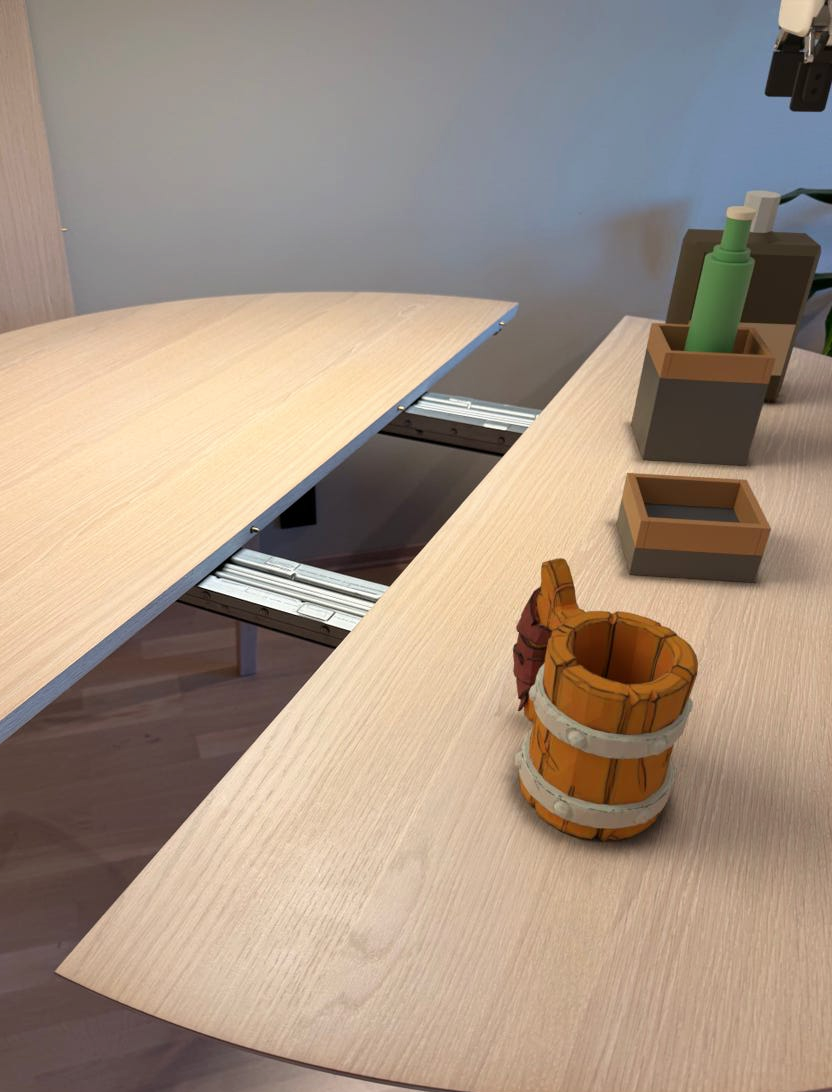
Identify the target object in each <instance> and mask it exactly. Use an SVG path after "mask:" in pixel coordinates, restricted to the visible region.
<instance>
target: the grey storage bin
mask: <svg viewBox="0 0 832 1092" xmlns="http://www.w3.org/2000/svg"><path fill="white" fill-rule="evenodd" d="M689 327H690V325H686V324H666V323H665V322H664V323H663V322H651V323H650V329H649V334H648V339H647V343H646V348H645V353H644V358H643V363H642V368H641V374H640V378H639V383H638V388H637V393H636V399H635V402H634V403H635V404H634V407H633V412H632V413H633V414H632V418H631V421H630V424H631V425H630V426H631V429H632V432H633V435H634V438H635V441H636V444H637V447H638V450H639V454H640V457H641V460H643V461H657V462H658V461H659V462H675V463H678V462H679V463H695V464H713V465H728V466H730V465H731V466H746V465H747V462H748V458H749V455H750V451H751V448H752V445H753V441H754V437H755V434H756V431H757V427H758V424H759V420H760V418H761V417H760V416H761V412H762V410H763V406H764V402H765V401H764V399H765V395H766V392H767V388H768V385H769V381H770V377H771V374H772V370H773V367H774V363H775V360H776V358H775V356H774V355H773V353H772V352H771V351H770V349H769V348H768V346H767V345H766V344H765V342H764V341H763V339H762V338H761V337H760V335H759V334H758V332H757V331H756V330H755V328H747V327H738V331H737V335H736V339H735V343H734V346H733V350H732V354H731V353H712V352H692V351H684V349H685V345H686V340H687V336H688V331H689Z"/></svg>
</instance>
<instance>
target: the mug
mask: <svg viewBox="0 0 832 1092" xmlns="http://www.w3.org/2000/svg"><path fill="white" fill-rule="evenodd" d="M515 629H516V632H517V633H518V636H517V638H516V643H515V644H513V648H512V658H513V668H512V672H513V676H514V677H515V684H516V692H517V698H518V700H520V702H519V705H518V708H517V712H521V711H522V710H523V714H524V716H525V717H526V719H527V720H528V721H529V722H531V723H532V726H531V727H530V728H529V729H528V731H527V732H526V735H525V736H524V739H523V741H522V743H521V747H520V751H518V752H516V753H515V757H514V766H516V768H518V773H519V774H518V783H519V787H520V793H521V794H522V796H523V797H524V799H525V801H526V802H527V804H529V805H530V806H531V807H534V809H535V812H536V815H537V816H538V817H539V818H540V819H542V820H543V822H545V823H546V824H548V825H549V826H551V827H553V828H554V829H556V830H557V831H559V832H562V833H564V834H567V835H570V836H573V837H576V838H579V839H586V840H593V839H594V838H595V837H596V836H597V837H598V840H599V841H604V842H606V841H608V840H609V839H610V840H612V841H621V840H625V839H630V838H632V837H634V836H636V835H638V834H639V833H642V832H644V831H646V830H647V829H648V828H649V827H650V826H652V824H654V823H655V822H656V821H657V820H658V817H659V816H661V812H662V810H663V809H664V807H665V806H666V804H667V803H668V800H669V798H670V796H671V791H672V787H673V782H674V780H675V779H676V777H677V772H678V770H677V766H676V765H675V764H674V762H673V758H672V757H671V756H672V753H673V750H674V746H675V743H676V742H677V741H678V740H679V739H680V738H681V737H682V736H683V735H684V731H685V728H686V725H687V722H688V719H689V716H690V713H691V712H692V711H693V706H694V704H693V703H694V701H693V700H692V699H691V698H690V697H691V693H692V691H693V688H694V685H695V683H696V679H697V677H698V673H699V662H698V656H697V654H696V652H695V650H694V648H693V647H692V645H691V644H690V643H689V642H687V640H686V639H684V638H682V637H681V636H680V635H678V634H677V633H676V632H675V631H674V630H673V629H671V628H670V627H667V626H663V625H662V624H661V622H658V621H656V620H653V619H652V618H649V617H646V616H643V615H639V614H636V613H632V612H628V611H618V610H617V611H615V612H613V613H612V612H611V611H608V610H607V611H606V610H605V611H604V610H588V611H585V610H584V609H582V608H580V607H579V604H578V602H577V596H576V588H575V584H574V579H573V576H572V572H571V569H570V566H569V564H568V562H567V560H566V559H565V558H563V557H559V558H553V559H549V560H546V561H542V562H541V567H540V586H539V587H537V588H536V589H535V590H533V591H532V594H531V595H530V597H529V599H528V600H527V602H526V604H525V606H524V608H523V610H522V612H521V614H520V618H519V620H518V622H517V624H516V626H515Z"/></svg>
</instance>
